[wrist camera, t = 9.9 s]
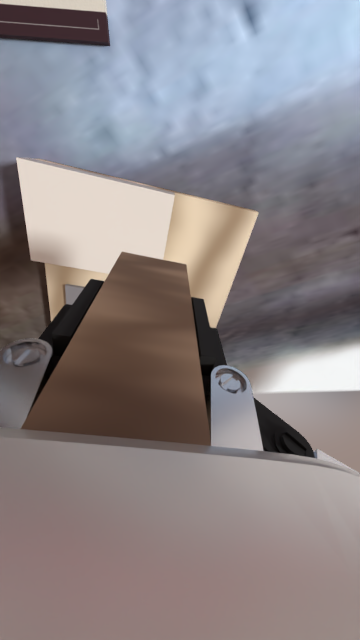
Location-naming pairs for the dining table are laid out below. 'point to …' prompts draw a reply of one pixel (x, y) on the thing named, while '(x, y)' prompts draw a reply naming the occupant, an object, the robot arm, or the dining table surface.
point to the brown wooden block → (131, 362)
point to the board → (183, 250)
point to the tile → (90, 216)
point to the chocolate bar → (55, 20)
